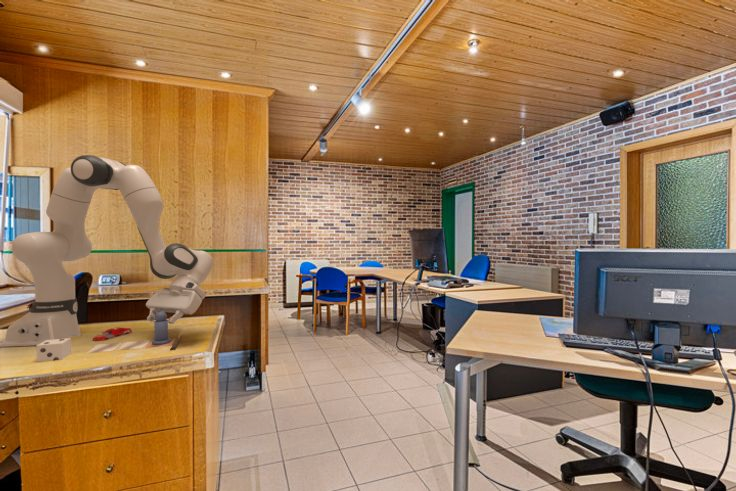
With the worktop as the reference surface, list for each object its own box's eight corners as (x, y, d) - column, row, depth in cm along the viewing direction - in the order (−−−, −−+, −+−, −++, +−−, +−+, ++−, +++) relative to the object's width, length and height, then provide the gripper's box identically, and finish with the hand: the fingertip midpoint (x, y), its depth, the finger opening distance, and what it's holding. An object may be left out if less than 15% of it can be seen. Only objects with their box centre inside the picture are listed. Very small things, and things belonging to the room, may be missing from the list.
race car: (99, 346, 122) (99, 334, 122) (88, 344, 124) (87, 333, 124) (134, 335, 135) (134, 325, 135) (124, 334, 136) (123, 324, 136)
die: (36, 366, 102) (36, 345, 102) (47, 359, 108) (46, 339, 108) (62, 363, 104) (62, 343, 104) (71, 357, 110) (71, 337, 110)
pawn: (150, 345, 118) (149, 313, 117) (153, 341, 123) (153, 310, 123) (169, 344, 120) (168, 312, 119) (171, 339, 125) (171, 309, 125)
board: (79, 358, 108) (79, 354, 108) (93, 347, 120) (93, 344, 120) (175, 349, 117) (175, 346, 117) (180, 339, 129) (180, 336, 129)
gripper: (156, 282, 131) (131, 314, 122) (200, 285, 124) (176, 318, 115) (167, 292, 135) (143, 324, 126) (209, 295, 128) (188, 329, 119)
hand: (159, 321), depth 121 cm, fingers open, 8 cm apart
